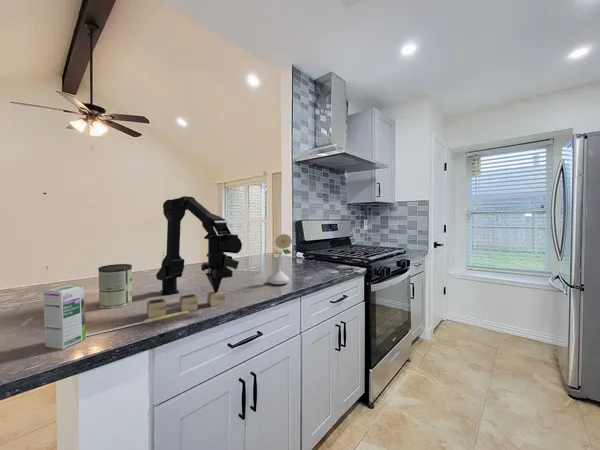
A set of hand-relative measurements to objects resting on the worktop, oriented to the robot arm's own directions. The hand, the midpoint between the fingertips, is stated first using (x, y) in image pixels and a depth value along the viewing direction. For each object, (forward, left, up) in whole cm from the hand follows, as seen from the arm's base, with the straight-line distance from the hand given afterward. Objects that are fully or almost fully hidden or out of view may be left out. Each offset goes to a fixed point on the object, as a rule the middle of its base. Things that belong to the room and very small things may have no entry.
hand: (215, 292), depth 100 cm
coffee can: (-20, -31, -5) cm, 37 cm away
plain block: (0, 0, -4) cm, 4 cm away
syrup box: (+9, -42, -5) cm, 43 cm away
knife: (+5, -27, -5) cm, 28 cm away
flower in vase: (-13, +36, -5) cm, 39 cm away
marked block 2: (0, -10, -4) cm, 11 cm away
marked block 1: (0, -20, -4) cm, 21 cm away
